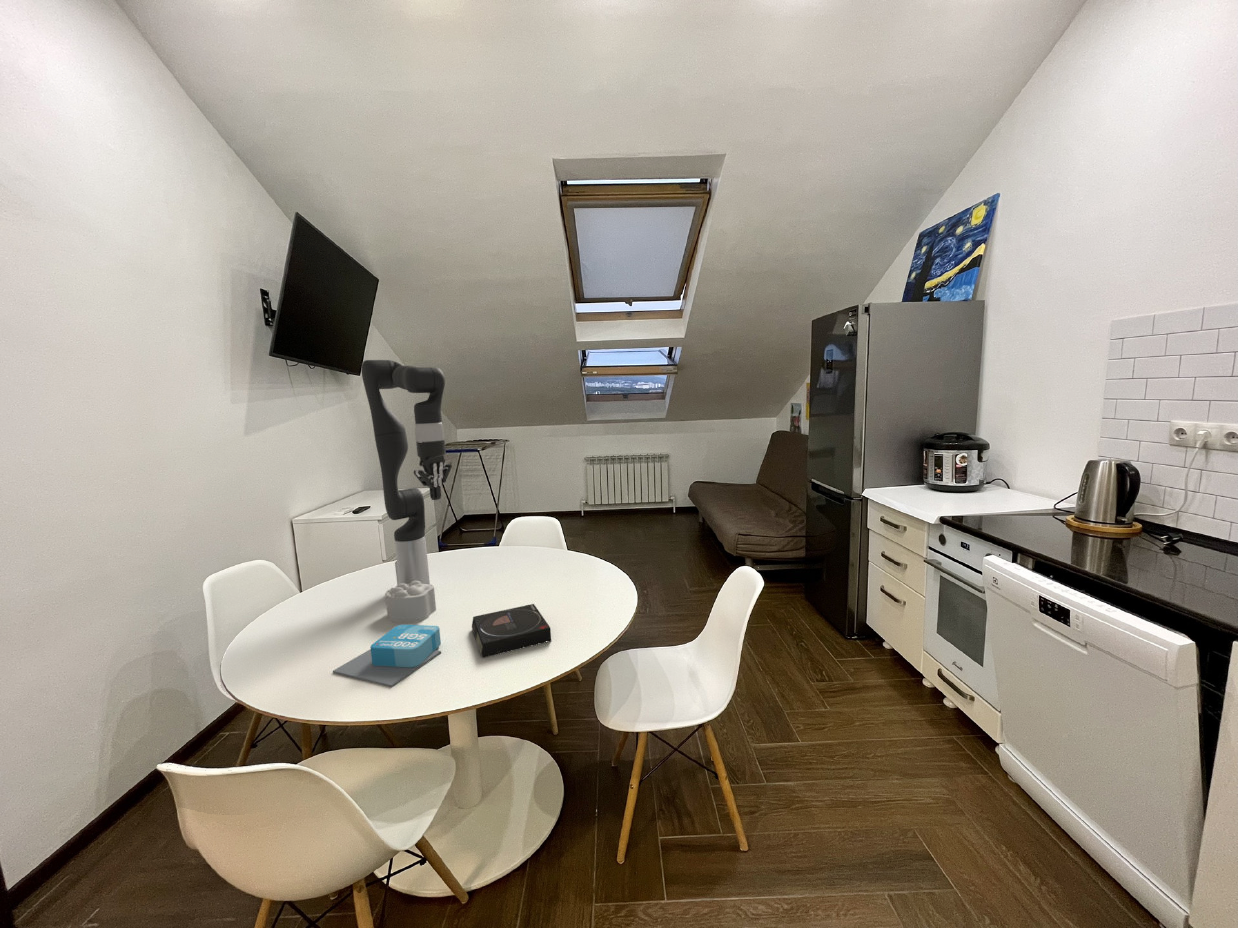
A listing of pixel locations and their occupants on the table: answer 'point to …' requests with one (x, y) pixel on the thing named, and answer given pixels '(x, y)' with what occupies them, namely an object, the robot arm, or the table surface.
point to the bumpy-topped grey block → (410, 602)
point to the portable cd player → (510, 630)
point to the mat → (378, 670)
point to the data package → (405, 646)
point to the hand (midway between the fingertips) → (436, 499)
